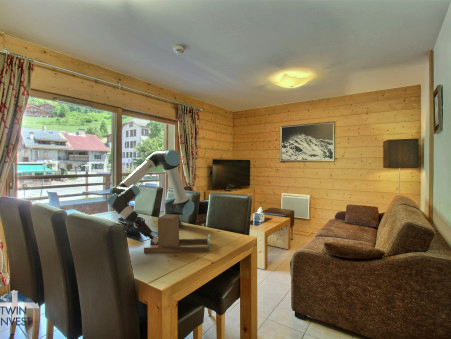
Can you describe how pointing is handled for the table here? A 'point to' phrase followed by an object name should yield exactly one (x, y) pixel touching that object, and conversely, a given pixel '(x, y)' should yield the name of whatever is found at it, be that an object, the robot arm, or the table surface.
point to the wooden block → (168, 231)
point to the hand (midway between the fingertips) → (157, 241)
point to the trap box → (156, 249)
